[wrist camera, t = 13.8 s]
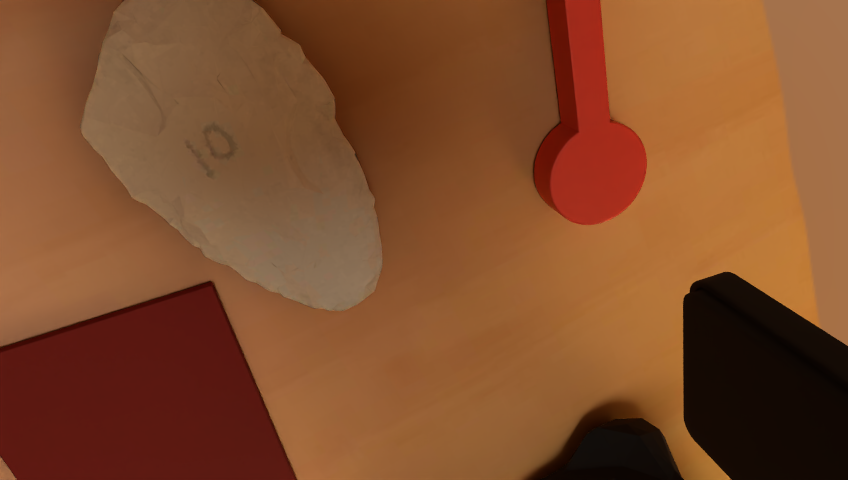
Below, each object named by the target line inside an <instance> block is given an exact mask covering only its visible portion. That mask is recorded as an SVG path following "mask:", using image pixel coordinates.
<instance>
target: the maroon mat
mask: <svg viewBox="0 0 848 480" xmlns="http://www.w3.org/2000/svg"><path fill="white" fill-rule="evenodd" d="M0 456H1V457H2V459H3V460H4V462H5V463H6V464H7V466H8V467H9V469H10V470H11V471H12V473H13V474H14V476H15V477H16V479H17V480H296V477H295V475H294V472H293V470H292V468H291V465H290V463H289V461H288V458H287V456H286V454H285V451H284V449H283V447H282V444H281V442H280V440H279V437H278V435H277V433H276V430H275V428H274V426H273V423H272V421H271V419H270V416H269V414H268V412H267V409H266V407H265V405H264V402H263V400H262V397H261V395H260V393H259V390H258V388H257V386H256V383H255V381H254V379H253V376H252V374H251V372H250V369H249V367H248V365H247V362H246V360H245V358H244V355H243V353H242V351H241V348H240V346H239V344H238V341H237V339H236V337H235V334H234V332H233V330H232V327H231V325H230V322H229V320H228V318H227V315H226V313H225V311H224V308H223V306H222V304H221V301H220V299H219V297H218V294H217V292H216V290H215V287H214V285H213V283H212V282H208V283H205V284H202V285H199V286H195V287H192V288H189V289H186V290H183V291H180V292H176V293H173V294H170V295H167V296H164V297H161V298H157V299H154V300H151V301H148V302H145V303H142V304H138V305H135V306H132V307H129V308H126V309H123V310H119V311H116V312H113V313H110V314H107V315H104V316H100V317H97V318H94V319H91V320H88V321H85V322H81V323H78V324H75V325H72V326H69V327H66V328H62V329H59V330H56V331H53V332H50V333H47V334H43V335H40V336H37V337H34V338H31V339H28V340H24V341H21V342H18V343H15V344H12V345H9V346H6V347H2V348H0Z"/></svg>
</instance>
